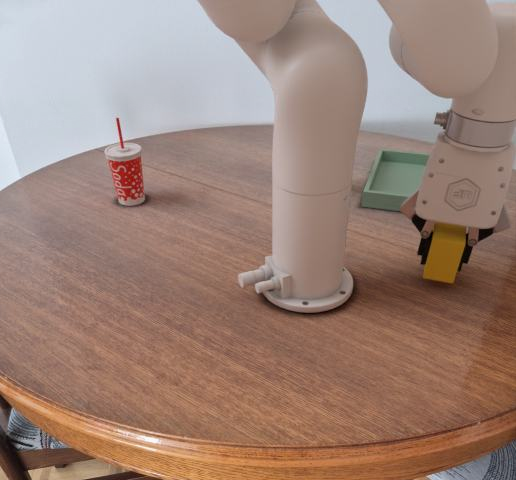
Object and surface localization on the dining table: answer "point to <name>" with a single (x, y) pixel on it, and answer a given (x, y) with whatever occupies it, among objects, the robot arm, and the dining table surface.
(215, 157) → the dining table surface
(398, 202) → the pan
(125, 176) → the beverage cup
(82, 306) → the dining table surface
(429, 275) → the yellow rectangular block
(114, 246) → the dining table surface
